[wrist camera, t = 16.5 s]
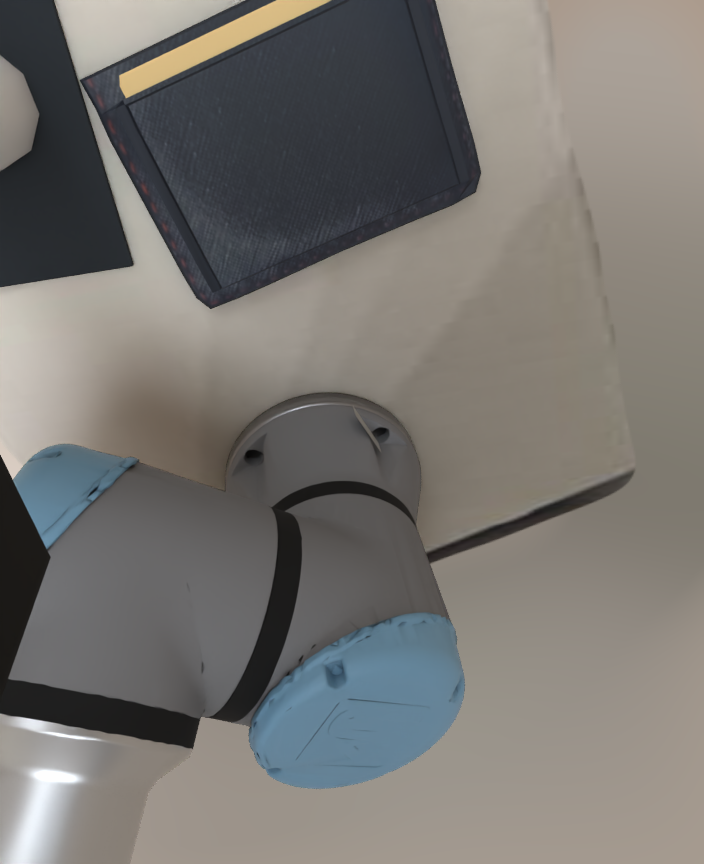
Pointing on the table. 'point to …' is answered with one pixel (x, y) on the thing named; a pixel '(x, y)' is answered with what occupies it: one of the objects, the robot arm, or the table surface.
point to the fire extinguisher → (15, 115)
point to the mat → (53, 164)
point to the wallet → (288, 134)
